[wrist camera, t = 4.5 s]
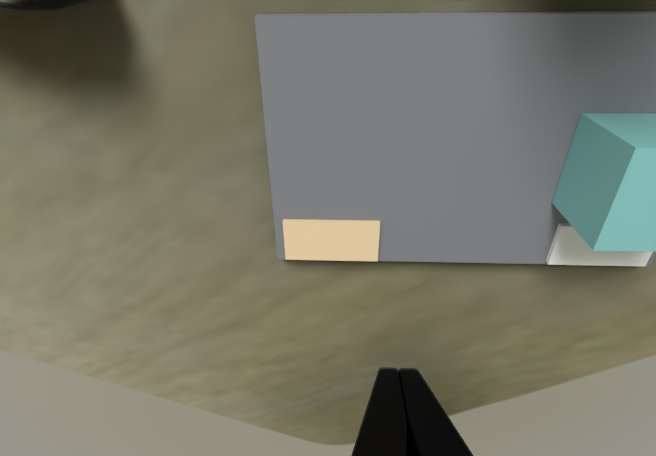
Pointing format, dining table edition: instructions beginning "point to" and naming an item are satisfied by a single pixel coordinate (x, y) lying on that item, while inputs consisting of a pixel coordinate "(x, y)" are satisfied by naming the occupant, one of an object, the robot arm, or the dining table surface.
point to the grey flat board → (441, 129)
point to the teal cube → (611, 181)
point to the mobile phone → (40, 4)
